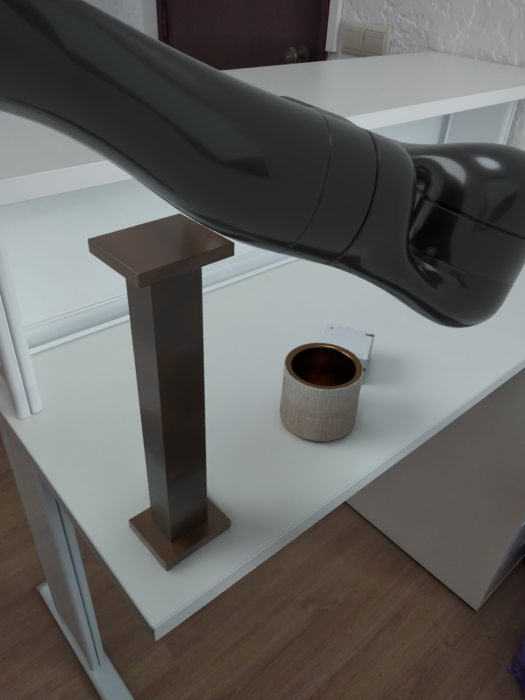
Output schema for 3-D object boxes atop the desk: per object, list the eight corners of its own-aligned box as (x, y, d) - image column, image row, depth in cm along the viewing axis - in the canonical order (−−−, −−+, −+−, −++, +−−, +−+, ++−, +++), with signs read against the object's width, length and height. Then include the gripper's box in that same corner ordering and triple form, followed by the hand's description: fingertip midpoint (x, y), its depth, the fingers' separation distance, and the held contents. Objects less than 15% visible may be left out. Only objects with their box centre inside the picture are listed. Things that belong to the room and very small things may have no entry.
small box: (314, 375, 92) (317, 348, 89) (324, 348, 98) (327, 322, 95) (363, 386, 90) (368, 359, 87) (370, 358, 96) (375, 332, 93)
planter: (265, 408, 85) (268, 355, 79) (324, 385, 90) (330, 333, 84) (308, 455, 77) (315, 400, 72) (370, 427, 82) (381, 373, 77)
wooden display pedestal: (166, 571, 62) (138, 274, 42) (129, 526, 67) (87, 238, 46) (231, 526, 67) (234, 242, 47) (192, 488, 72) (180, 212, 51)
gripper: (382, 100, 46) (268, 64, 58) (225, 116, 40) (132, 71, 51) (368, 192, 50) (264, 141, 62) (224, 219, 44) (138, 157, 56)
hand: (205, 110), depth 57 cm, fingers closed on robot figurine, 4 cm apart
